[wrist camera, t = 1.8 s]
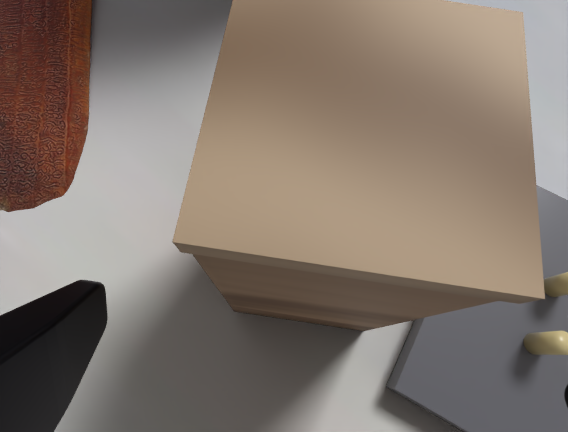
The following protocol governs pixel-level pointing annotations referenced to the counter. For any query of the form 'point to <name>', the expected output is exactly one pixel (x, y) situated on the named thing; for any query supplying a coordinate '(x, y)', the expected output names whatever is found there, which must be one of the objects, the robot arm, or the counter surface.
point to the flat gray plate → (498, 351)
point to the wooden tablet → (42, 98)
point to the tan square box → (366, 162)
